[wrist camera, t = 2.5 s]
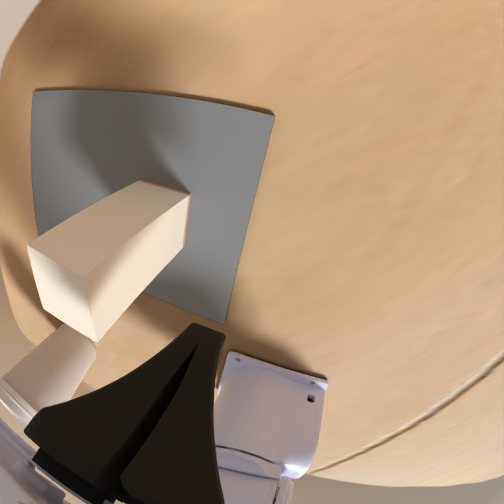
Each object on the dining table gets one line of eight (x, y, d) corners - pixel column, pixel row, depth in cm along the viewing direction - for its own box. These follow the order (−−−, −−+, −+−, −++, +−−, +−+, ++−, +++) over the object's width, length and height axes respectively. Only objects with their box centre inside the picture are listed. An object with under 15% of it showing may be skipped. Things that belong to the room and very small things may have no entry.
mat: (275, 115, 15) (274, 115, 15) (224, 321, 23) (223, 324, 23) (36, 91, 17) (33, 91, 17) (41, 240, 26) (39, 241, 25)
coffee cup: (116, 373, 34) (60, 454, 21) (71, 355, 36) (18, 421, 24) (90, 322, 30) (14, 411, 17) (46, 306, 32) (-22, 375, 19)
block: (191, 193, 18) (83, 276, 10) (184, 246, 20) (97, 342, 12) (140, 179, 19) (26, 244, 10) (137, 229, 21) (43, 308, 12)
